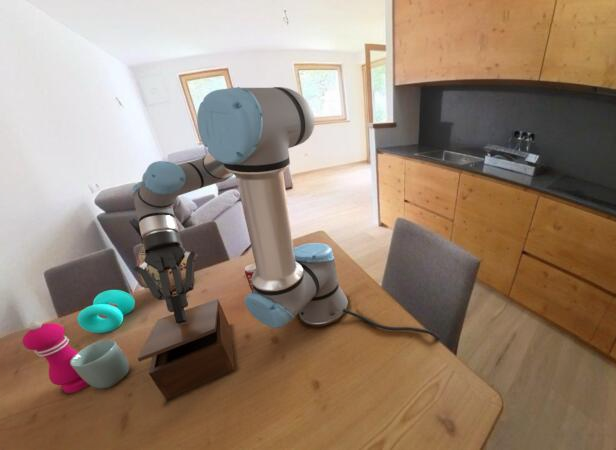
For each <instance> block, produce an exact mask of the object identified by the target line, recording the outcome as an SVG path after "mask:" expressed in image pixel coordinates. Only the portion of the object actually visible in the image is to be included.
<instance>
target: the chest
mask: <svg viewBox="0 0 616 450" xmlns="http://www.w3.org/2000/svg"><path fill="white" fill-rule="evenodd" d="M150 359H151V360H150V364H149V369H148V375H149V377H150V378H151V380H152V381H153V383H154V384H155V385H156V387H157V388H158V390H159V391H160V393H161V395H162V396H163V397H164V399H165V400H166V402H170V401H172V400H174V399H176V398H179V397H181V396H183V395H185V394H187V393H189V392H192V391H194V390H195V389H198V388H200V387H203V386H205V385H207V384H210V383H211V382H213V381H216V380H217V379H219V378H221V377H224V376H226V375H228V374H230V373H233V372H235V362H234V361H235V360H234V351H233V341H232V333H231V326H230V323H229V321H228V319H227V316H226V314H225V312H224V309H223V307H222V304H221V303H220V301H219V305H218V315H217V325H216V332H214V333H211V334H209V335H206V336H204V337H201V338H199V339H196V340H194V341H191V342H189V343H186V344H183V345H181V346H178V347H176V348H173V349H171V350H168V351H166V352H163V353H161V354H158V355H155V356H153V357H151V358H150Z"/></svg>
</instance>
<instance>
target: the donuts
mask: <svg viewBox="0 0 616 450" xmlns="http://www.w3.org/2000/svg"><path fill="white" fill-rule="evenodd" d="M111 304H114V305H111ZM115 305H116V306H115ZM135 306H136V300H135V298H134V297H133V295H131V293H129V292H127V291H124V290H122V289H121V290H120V289H108V290H105V291H102V292H100V293H98V294H97V295H96V296H95V298H94V299H93V301H92V304H91V305H89V306H87V307H84V308H83V309H82V310H81V311H80V312H79V313H78V315H77V323H78V325H79V326H80V327H81V328H82V329H83V330H85V331H88V332H91V333H94V334H95V333H96V334H105V333H110V332H112V331H115V330H117V329H118V328H119V327H120V326H121V325H122V323H123V321H124V316H126V315H128V314H129V313H131V312H132V311H133V310H134V308H135ZM100 316H104V317H106V318H103V317H100Z"/></svg>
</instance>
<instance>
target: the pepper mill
mask: <svg viewBox="0 0 616 450" xmlns="http://www.w3.org/2000/svg"><path fill="white" fill-rule="evenodd" d="M28 329H29V330H28V331H27V332H26V333H25V334H24V335H23V337H22V339H21V340H22V345H23V346H24V348H25V349H27V350H31V351H34V353H35V354H36V355H37V357H42V358H44V359H45V360H46V361H47V363H48V378H49V380H50V382H51V383H52V384H53V385H56V386H60V389H62V390H63V391H64V392H65V393H67V394H68V393H76V392H79V391H81V390H83V389H84V388H87V387H88V386H90V385H89V384H87V383H86V382H85V381H84V380H83V379H82V378H81V377H80V376H79V375H78V374H77V373H76V371H75V370H74V369H73V368H72V366H71V364H70V362H71V359H72V358H73V357H74V356H75V355H76V354H77V353H78V352H79V351H80V350H79V351H78V350H75V349H74V348H72V346H70V345H69V342H70V339H69V338H68V336H66V335H65V333H66V329H65V328H64V327H63V325H61V324H60V323H57V322H56V323H55V322H47V323H42V322H40V321H33V322H31V323H30V324H29V325H28Z"/></svg>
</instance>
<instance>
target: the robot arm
mask: <svg viewBox="0 0 616 450" xmlns="http://www.w3.org/2000/svg"><path fill="white" fill-rule="evenodd" d="M196 121H197V122H196V124H197V131H198V135H199V137H200V140H201V142H202V144H203V146H204V147H206V148H207V152H208V153H207V154H205V155H204V156H202V157H201V158H198V159H195V160H191V161H188V162H182V163H179V164H176V163H174V162H172V161H165V160H157V161H154V162H152V163H150V164H149V165H148V166H147V168H146V169H145V171H144V173H143V174H142V176H141V177H142V178H141V181H138V182H137V184H134V185H132V189H131V192H132V197H131V198H132V202H133V203H134V208H135V212H136V218H138V221H139V226H140V231H141V236H142V238H143V245H144V249H145V254H146V256H145V259H144V261H145V262H144V263H143V264H141V265H140V266H137V265H136V266H135V267H134V268H133V271H135V272H136V273H137V272H138V273H139V274H141V276H142V278H143V279H144V281H145V283H146V284H147V286H148V288H147V289H149V291H150V293H151V294H152V296H153V297H154V299H156V300H158V301H163V300H165V305H166V309H167V311H168V312H169V313H173V314H174V316H175V320H176V323H179V324H181V323H183V322H186V321H187V319H186V315H185V311H184V310H185V308H188V307H189V302H188V298H187V294H188V293H189V292H191V291H193V290H194V287H195V285H194V284H195V267H196V266H195V264H196V261H197V259H198V257H199V256H198V254H197V253H196V252H195V251H187V250H186V249H185V248H184V247H183V243H182V239H181V235H180V233H179V227H178V223H177V219H176V216H175V211H174V207H173V206H174V203H175V202H176V200H177V198H178V197H179V196H181V195H185V194H188V193H191V192H194V191H198V190H199V189H203V188H206V187H209V186H212V185H215V184H218V183H223V182H225V181H227V180H230V179H231V178H233V176H234V177H235V180H236V183H237V187H238V193H239V197H240V202H241V206H242V210H243V215H244V219H245V224H246V228H247V232H248V237H249V243H250V247H251V251H252V255H253V259H254V263H255V265H256V270H255V271H254V273H253V275H252V278H251V280H252V285H253V291H251V292H248V293H247V295H246V296H245V298H244V305H245V307H246V310H247V311H248V312H249V314H251V315H252V317H253V318H255V319H256V320H257V321H258V322H260V323H261V324H263V325H265V326H267V327H269V328H272V329H281V328H282V329H283V328H284V327H286V326H287V325H288V324H289V323H290V322H292V321H293V320H294V319H295V317H296V316H297V315H298V314H299V318H300V321H301V322H302V323H303V324H304V325H307V326H309V327H313V328H321V327H327V326H330V325H333V324H334V323H337V322H338V321H339V320H341V319H342V318H343V317H344V315H346V314H348V315H350V316H352V317H356V318H357V319H359V320H362V321H364V322H366V323H368V324H370V325H371V326H374V327H376V328H380V329H383V330H387V331H411V332H417V333H423V334H428V335H430V336H432V337H433V338H435V339H436V340H437V341H441V340H442V338H441V337H440V336H439V335H438V334H437V333H435V332H434V331H432V330H429V329H424V328H420V327H414V326H413V327H412V326H387V325H383V324H380V323H377V322H376V321H373V320H371V319H369V318H367V317H365V316H363V315H361V314H358V313H356V312H354V311H351V310H349V302H348V301H349V300H348V297H347V295H346V293H345V292H344V291H343V289H342V287H341V286H340V284H339V277H338V273H337V266H336V261H335V259H336V258H335V255H334V251H333V249H332V247H331V246H330V245H328V244H326V243H323V242H309V243H302V244H300V245H298V246H295V247H294V241H293V235H292V227H291V220H290V212H289V206H288V205H289V204H288V197H287V191H286V183H285V175H284V172H285V171H286V170H287V169H288V168H289V167H290V165H291V159H290V153H289V149H290V148H294V147H297V146H300V145H302V144H303V143H305V142H307V140H309V139H310V137H311V136H312V134H313V132H314V130H315V122H316V121H315V114H314V111H313V108H312V106H311V104H310V103H309V102H308V100H307V99H306V98H305V97H304V96H303V95H301V94H300V93H299V92H297V91H295V90H293V89H291V88H289V87H284V86H273V87H240V86H237V87H229V88H220V89H215V90H212V91H210V92H208V93H207V94H206V95H205V96H204V97H203V99H202V101H201V102H200V104H199V105H198V110H197V115H196ZM141 236H140V237H141ZM185 256H186V257H185ZM184 257H185V258H186V259H187V262H186V278H185V287H184V283H183V279H182V275H181V271H180V270H181V269H180V264H181V262H182V260H183V259H184ZM149 265H150V266H152V267H153V268H155V269H157V271H158V273H159V277H160V281H161V286H162V290H163V293H162V292H161V291H160V289H159V287H158V286H157V284H156V282H155V281H154V279H153V277H152V276H151V274H150V273H149V272H148V271H149V270H150V269H149V267H148V266H149ZM168 269H171V270H172V274H173V278H174V283H175V287H176V291H177V292H176V295H174V294H173V292H172V288H171V284H170V279H169V275H168V274H169V272H168Z"/></svg>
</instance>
